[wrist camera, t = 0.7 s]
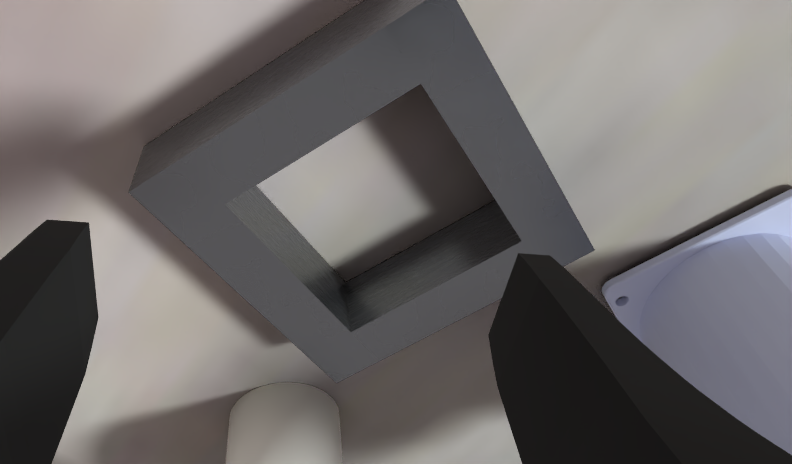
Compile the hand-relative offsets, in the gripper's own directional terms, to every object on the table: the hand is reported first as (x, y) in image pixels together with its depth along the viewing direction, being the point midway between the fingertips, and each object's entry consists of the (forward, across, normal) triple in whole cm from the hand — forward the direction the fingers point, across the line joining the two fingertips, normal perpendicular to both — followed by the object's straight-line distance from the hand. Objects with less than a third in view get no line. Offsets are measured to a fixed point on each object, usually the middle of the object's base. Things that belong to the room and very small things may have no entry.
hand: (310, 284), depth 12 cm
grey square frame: (+10, -3, +4) cm, 11 cm away
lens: (+10, -1, +16) cm, 19 cm away
